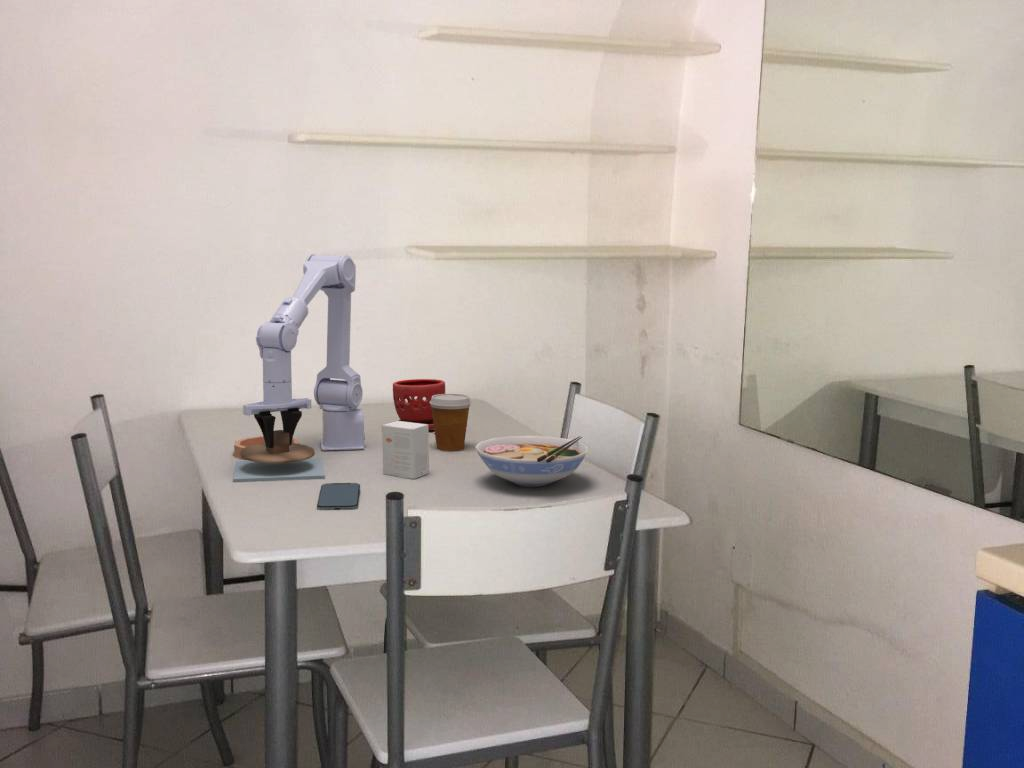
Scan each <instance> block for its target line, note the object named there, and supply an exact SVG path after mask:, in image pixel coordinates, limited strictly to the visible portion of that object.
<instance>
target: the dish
mask: <svg viewBox="0 0 1024 768" xmlns="http://www.w3.org/2000/svg"><path fill="white" fill-rule="evenodd" d="M263 443H265V440H264V437H263V435H260V436H259V435H258V436H257V435H256V436H252V437H250V436H249V437H244V438H241V439H238V440H236V441H234V444H233V446H234V447H233V448H234V449H233V451H234V455H233V456H234V457H235V458H238V459H241V460H244V461H247V460H246V459H244V458H242V457H241V456H240V451H241V450H242V449H243V448H246V447H248V446H252V445H256V444H263ZM292 443H296V444H300V439H298V438H295V437H293V439H292Z"/></svg>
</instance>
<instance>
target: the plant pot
mask: <svg viewBox="0 0 1024 768" xmlns="http://www.w3.org/2000/svg"><path fill="white" fill-rule="evenodd" d="M438 394H446V382H445V381H444V380H443V379H435V378H433V379H432V378H412V379H402V380H398V381H395V382H393V383H392V397H393V403H394V409H395V412H396V414H397V416H398V420H397V421H403V422H412V423H420V424H428V432H429V431H430V430H431V431H434V422H433V414H432V407H431V404H430V401H431V398H432V396H433V395H438ZM415 397H416V398H415ZM423 398H425V400H424V399H423ZM406 400H407V401H406Z"/></svg>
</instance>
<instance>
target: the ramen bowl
mask: <svg viewBox="0 0 1024 768" xmlns="http://www.w3.org/2000/svg"><path fill="white" fill-rule="evenodd" d="M580 439H583V436H579V435H578V436H577V437H575V438H574V439H570V438H562V437H555V436H548V435H546V436H544V435H507V436H501V437H500V436H499V437H491V438H489V439H486V440H485V439H484V440H482V441H479V442H477V444H476V445H475V446H474V447H475V450H476V452H477V454H478V456H479V457H480V459H481V461H482V462H483V463H484V465H485V466H486V467H487V468H488V469H489V471H490V472H491V473H493V474H494V475H496V476H498V477H499V478H501V479H504V480H506V481H510V482H512V483H513V484H514V485H517V486H520V487H526V488H536V487H539V488H540V487H545V486H548V485H549V484H551V483H554V482H556V481H559V480H562V479H564V478H566V477H568V476H570V475H572V474H573V473H574V472H575V471H576V470H577V469H578V468H579V466H580V465H581V464H582V462H583V460H584V458H585V457H586V455H587V453H588V450H589V446H587V445H586V444H585V443H583V442H580Z"/></svg>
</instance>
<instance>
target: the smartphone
mask: <svg viewBox="0 0 1024 768" xmlns="http://www.w3.org/2000/svg"><path fill="white" fill-rule="evenodd" d="M360 495H361V484H360V483H357V482H331V483H328V482H327V483H322V484H321V487H320V491H319V494H318V499H317V504H316V510H318V511H350V510H352V511H353V510H358V509H359V503H360Z"/></svg>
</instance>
